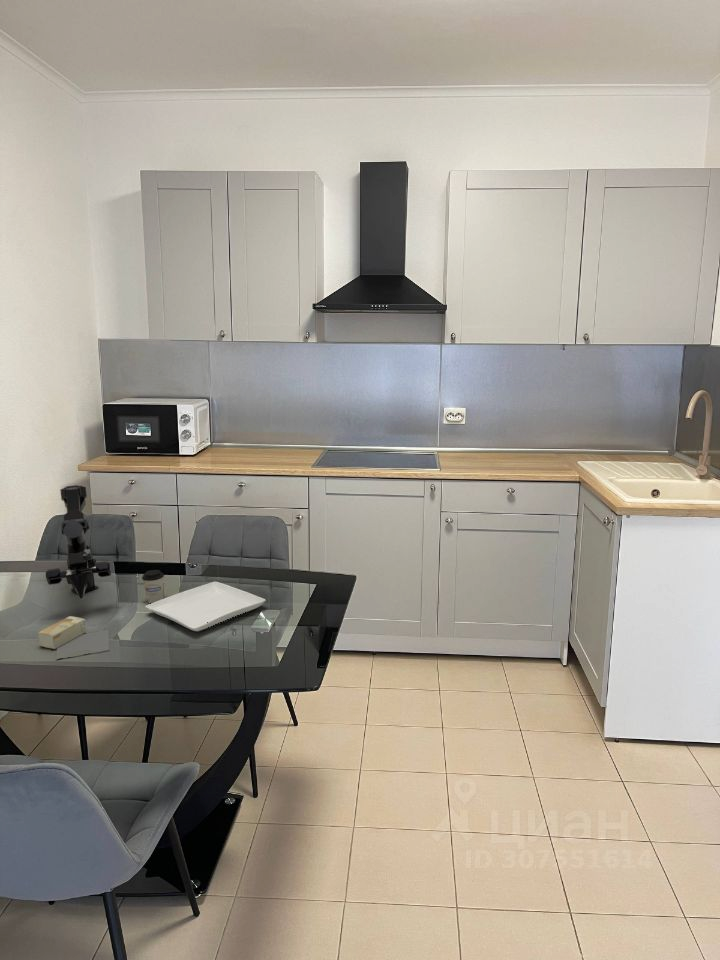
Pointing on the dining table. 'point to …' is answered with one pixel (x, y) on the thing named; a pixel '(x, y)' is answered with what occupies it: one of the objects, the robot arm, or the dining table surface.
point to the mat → (88, 642)
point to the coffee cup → (153, 585)
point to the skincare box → (61, 632)
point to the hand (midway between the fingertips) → (81, 597)
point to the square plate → (205, 605)
